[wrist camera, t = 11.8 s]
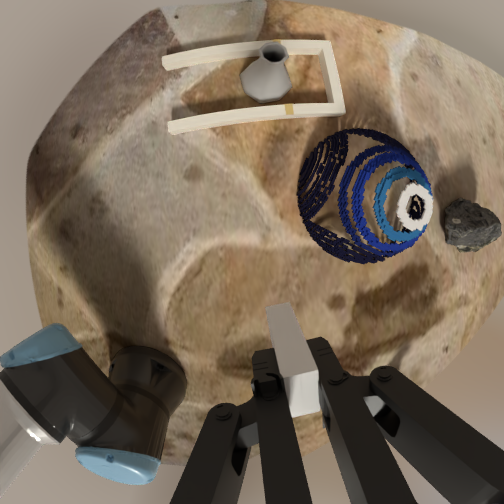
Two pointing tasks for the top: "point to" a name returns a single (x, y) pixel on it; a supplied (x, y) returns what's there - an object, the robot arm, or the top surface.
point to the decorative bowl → (402, 156)
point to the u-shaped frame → (264, 112)
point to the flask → (267, 74)
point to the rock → (470, 226)
